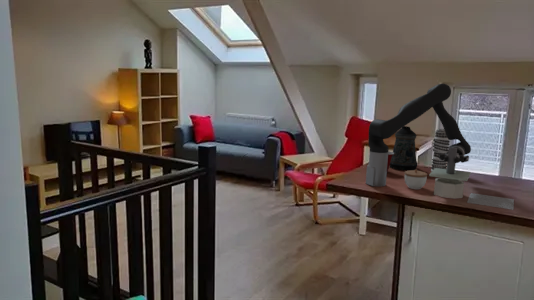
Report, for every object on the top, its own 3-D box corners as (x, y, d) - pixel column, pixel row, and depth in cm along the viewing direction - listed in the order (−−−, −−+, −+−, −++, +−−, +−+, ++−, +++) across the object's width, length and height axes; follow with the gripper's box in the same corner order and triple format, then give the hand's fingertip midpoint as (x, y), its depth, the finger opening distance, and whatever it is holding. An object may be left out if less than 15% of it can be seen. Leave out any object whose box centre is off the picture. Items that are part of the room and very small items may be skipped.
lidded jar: (427, 191, 208) (429, 172, 206) (404, 189, 209) (406, 171, 208) (423, 185, 218) (425, 167, 216) (402, 184, 220) (403, 166, 218)
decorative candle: (429, 171, 250) (433, 129, 246) (431, 168, 258) (435, 127, 254) (445, 173, 246) (450, 130, 241) (447, 170, 254) (451, 129, 250)
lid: (467, 181, 189) (470, 152, 186) (429, 176, 197) (431, 148, 194) (470, 173, 202) (473, 147, 200) (434, 169, 210) (437, 144, 208)
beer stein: (401, 171, 248) (404, 129, 244) (380, 164, 266) (383, 125, 261) (423, 169, 255) (427, 128, 250) (401, 163, 272) (404, 124, 268)
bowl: (447, 200, 193) (449, 185, 192) (428, 192, 205) (429, 178, 203) (468, 197, 198) (470, 183, 197) (448, 190, 209) (449, 177, 208)
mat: (513, 210, 180) (513, 209, 180) (466, 203, 189) (467, 202, 189) (513, 200, 196) (513, 199, 196) (470, 194, 205) (470, 193, 204)
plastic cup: (394, 173, 243) (396, 153, 241) (375, 173, 243) (377, 152, 241) (389, 169, 253) (391, 149, 251) (371, 168, 254) (372, 149, 251)
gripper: (441, 145, 213) (435, 150, 198) (472, 148, 206) (468, 154, 191) (439, 160, 215) (433, 166, 200) (470, 163, 208) (466, 170, 193)
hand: (451, 160), depth 196 cm, fingers closed on lid, 3 cm apart
